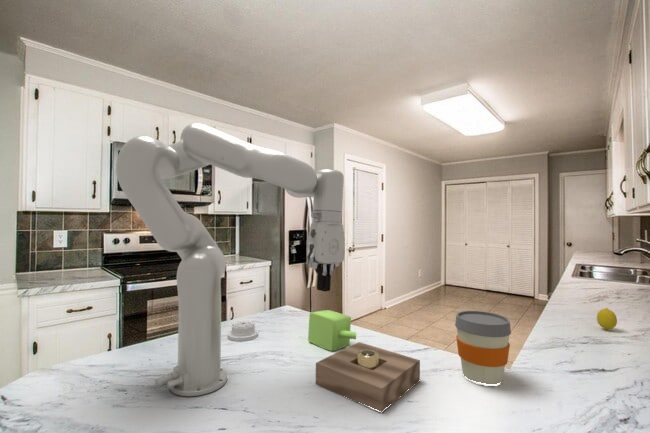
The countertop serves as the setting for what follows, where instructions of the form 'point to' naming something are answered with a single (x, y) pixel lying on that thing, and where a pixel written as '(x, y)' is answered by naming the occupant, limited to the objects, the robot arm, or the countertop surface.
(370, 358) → the bushing
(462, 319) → the reusable coffee cup
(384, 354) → the block
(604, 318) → the lemon
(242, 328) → the mechanical component
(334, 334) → the gearbox
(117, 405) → the countertop surface
